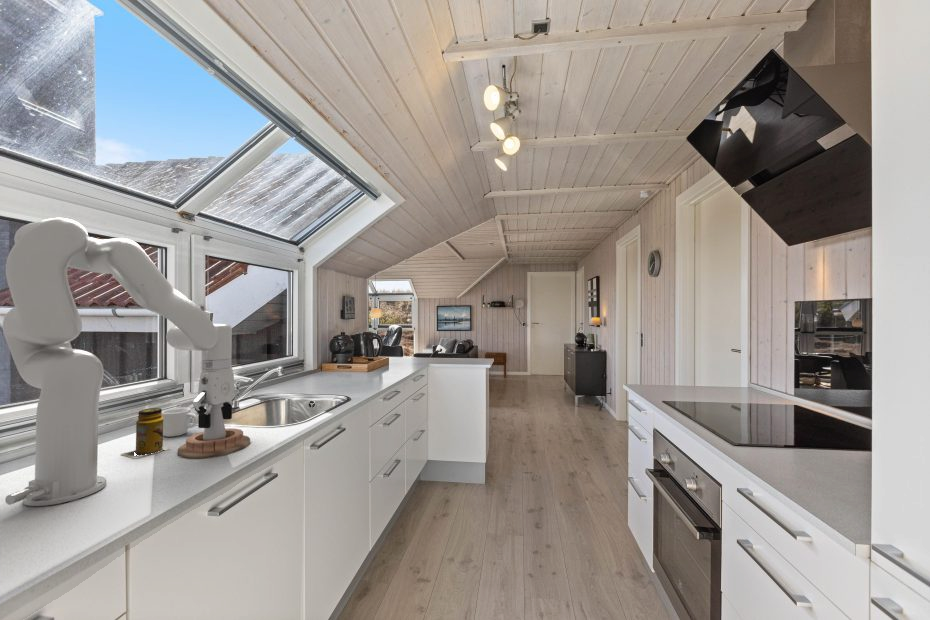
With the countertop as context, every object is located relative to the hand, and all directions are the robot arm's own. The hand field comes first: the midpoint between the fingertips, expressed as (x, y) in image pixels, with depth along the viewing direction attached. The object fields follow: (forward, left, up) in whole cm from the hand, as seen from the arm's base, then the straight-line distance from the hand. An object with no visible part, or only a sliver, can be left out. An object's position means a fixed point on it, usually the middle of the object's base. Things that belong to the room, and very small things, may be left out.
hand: (215, 423), depth 113 cm
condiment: (-5, +17, -7) cm, 19 cm away
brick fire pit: (0, 0, -7) cm, 7 cm away
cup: (+11, +20, -7) cm, 24 cm away
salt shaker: (0, 0, -6) cm, 6 cm away
